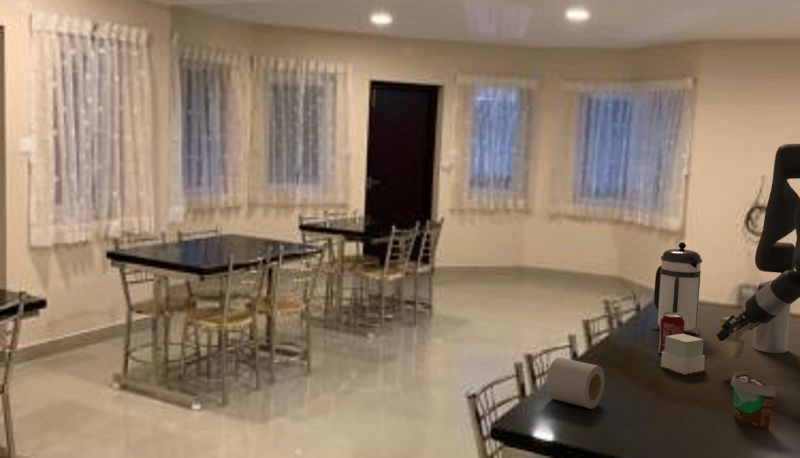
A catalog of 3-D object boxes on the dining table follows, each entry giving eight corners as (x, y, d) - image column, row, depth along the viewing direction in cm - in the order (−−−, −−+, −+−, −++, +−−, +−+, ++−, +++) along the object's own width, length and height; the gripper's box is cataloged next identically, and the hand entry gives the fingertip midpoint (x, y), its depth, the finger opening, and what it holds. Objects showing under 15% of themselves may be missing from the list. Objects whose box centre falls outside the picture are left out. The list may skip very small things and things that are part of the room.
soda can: (683, 358, 229) (686, 317, 228) (659, 356, 231) (662, 316, 229) (680, 352, 236) (683, 312, 235) (656, 350, 237) (659, 311, 236)
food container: (717, 412, 183) (721, 370, 182) (743, 412, 184) (746, 370, 183) (745, 432, 171) (749, 387, 170) (772, 431, 172) (776, 387, 170)
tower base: (680, 364, 224) (681, 348, 224) (703, 371, 217) (704, 355, 217) (660, 367, 220) (661, 351, 219) (684, 375, 213) (685, 359, 213)
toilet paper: (544, 403, 186) (547, 361, 185) (565, 393, 194) (567, 353, 193) (583, 413, 180) (586, 370, 179) (603, 403, 188) (605, 362, 187)
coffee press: (705, 330, 265) (711, 241, 262) (694, 339, 252) (701, 246, 248) (652, 322, 275) (658, 237, 271) (640, 331, 261) (645, 241, 258)
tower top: (681, 349, 223) (682, 333, 222) (702, 355, 217) (703, 339, 216) (664, 351, 219) (665, 336, 219) (685, 358, 213) (686, 342, 213)
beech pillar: (728, 352, 216) (730, 316, 215) (742, 356, 212) (745, 320, 211) (717, 354, 213) (720, 318, 212) (731, 358, 210) (734, 321, 208)
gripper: (777, 287, 208) (733, 322, 219) (743, 292, 200) (699, 328, 212) (794, 311, 204) (749, 345, 216) (760, 317, 196) (715, 352, 208)
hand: (725, 336), depth 214 cm, fingers closed on beech pillar, 4 cm apart
